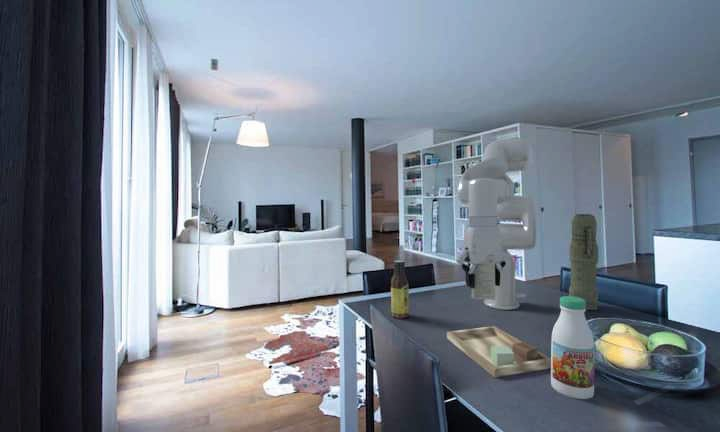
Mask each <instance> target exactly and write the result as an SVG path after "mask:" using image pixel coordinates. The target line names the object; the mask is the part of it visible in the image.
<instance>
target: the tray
mask: <svg viewBox="0 0 720 432" xmlns="http://www.w3.org/2000/svg"><path fill="white" fill-rule="evenodd" d="M446 339H447V340H448V341H450V342H451V343H452V344H453V345H454V346H455V347H457V348H458V349H460V350H461V351H462V352H463V353H464V354H466V356H468V357H469V358H470V359H472V360H473V361H474V362H475V363H476V364H478V366H480V367H482V369H484V370H485V371H486V372H487V373H489V374H490V375H491V376H492V377H493V378H499V377H505V376H511V375H517V374H523V373H529V372H530V373H531V372H535V371H541V370H546V369H547V370H548V369H551V357H549V356H547V355H546V354H544V353H542V352H541V351H539V350H538V360H533V361H527V362H520V363H517V362H515V361H514V364H508V365H502V366H495V365H493V364H492V363H491V346H508V348H509V349H510V350H511V351H512V345H513V344H517V343H521V342H522V341H521V340H519V339H518V338H516V337H515V336H512V335H511V334H509V333H507V332H505V331H504V330H502V329H500V328H499V327H497V326H496V325H493V326H492V325H491V326H490V325H489V326H484V327H477V328H476V327H475V328H468V329H467V328H466V329H459V330H452V331H451V330H450V331H446Z"/></svg>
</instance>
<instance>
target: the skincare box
mask: <svg viewBox="0 0 720 432" xmlns="http://www.w3.org/2000/svg"><path fill="white" fill-rule="evenodd" d="M473 274H475V288H471V299H475V300H485V299H488V300H495V256H487V257H486V260H485V263H484V264H479V265H476V267H475V269H474V271H473Z"/></svg>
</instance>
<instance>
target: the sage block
mask: <svg viewBox="0 0 720 432" xmlns="http://www.w3.org/2000/svg"><path fill="white" fill-rule="evenodd" d="M491 363H492V364H493V365H495V366H502V365H508V364H514V353H513V352H512V351H511V350H510V349H509V348H508V346H491Z"/></svg>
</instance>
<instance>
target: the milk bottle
mask: <svg viewBox="0 0 720 432" xmlns="http://www.w3.org/2000/svg"><path fill="white" fill-rule="evenodd" d="M559 308H560V313H559V316H558V319H557V320H556V322H555V324H554V326H553V329H552V332H551V341H550V343H551V345H550V347H551V348H550V353H551V354H550V358H551V368H550V385H551V388H553V389H554V390H555V391H556V392H558V393H559V394H562V395H564V396H566V397H569V398H573V399H579V400H588V399H592V398H593V397H594V395H595V341H594V335H593V333H592V330H591V328H590V325H589V324H588V322H587V319H586V315H585V312H587V311H586V309H585V308H586V301H585V300H584V299H582V298H578V297H573V296H569V295H566V296H561V297H559Z"/></svg>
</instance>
